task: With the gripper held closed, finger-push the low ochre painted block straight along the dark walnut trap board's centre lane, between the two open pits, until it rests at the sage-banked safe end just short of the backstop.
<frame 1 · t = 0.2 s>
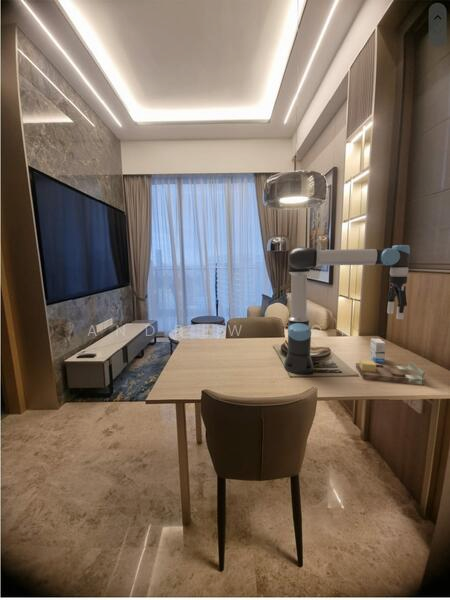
hand: (394, 316, 130), 28 cm above the table, fingers open, 13 cm apart
ochre block: (367, 368, 125), point 2 cm above the table, touching trap board
trap board: (386, 375, 123), on the table
ink box: (376, 360, 142), on the table
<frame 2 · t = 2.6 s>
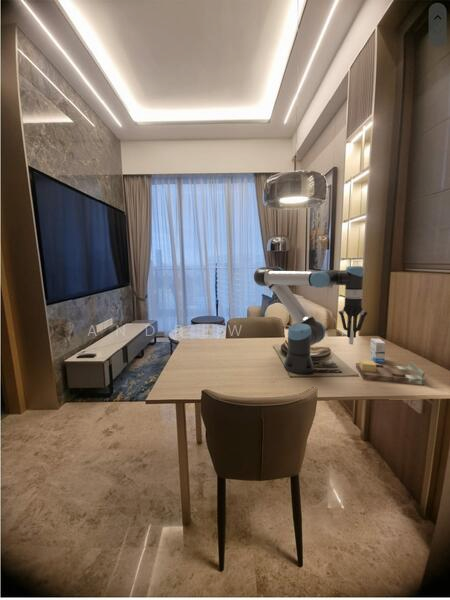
hand: (350, 343, 125), 15 cm above the table, fingers closed
nothing on the table moved.
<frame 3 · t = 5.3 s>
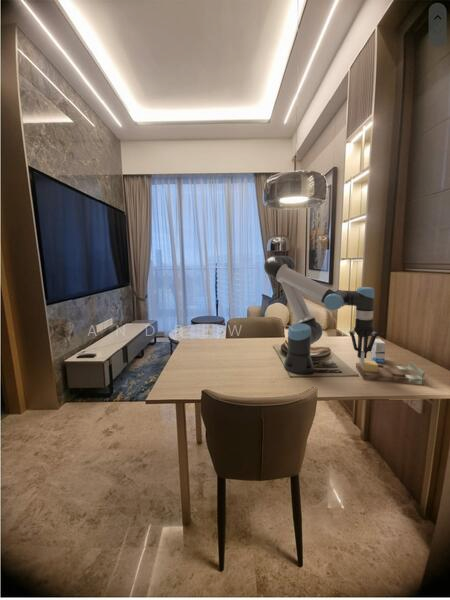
hand: (361, 363, 125), 5 cm above the table, fingers closed
nothing on the table moved.
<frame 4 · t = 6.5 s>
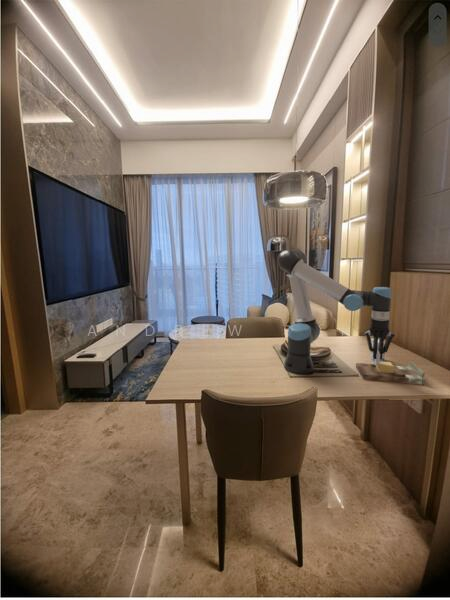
hand: (376, 364, 123), 5 cm above the table, fingers closed
ochre block: (384, 370, 123), point 3 cm above the table
everything else where it was.
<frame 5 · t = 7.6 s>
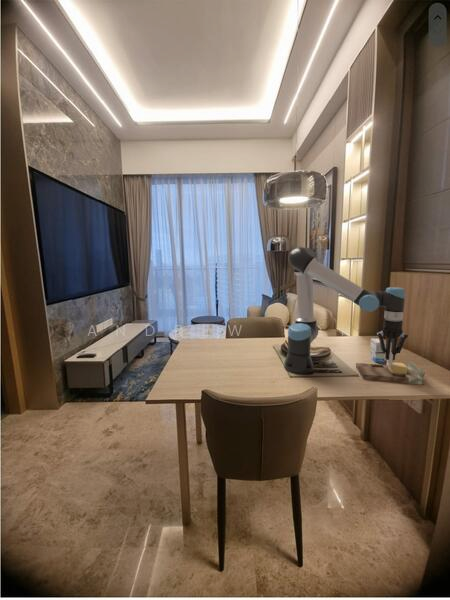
hand: (389, 365, 122), 5 cm above the table, fingers closed
ochre block: (397, 371, 121), point 2 cm above the table, touching gripper, trap board
everything else where it was.
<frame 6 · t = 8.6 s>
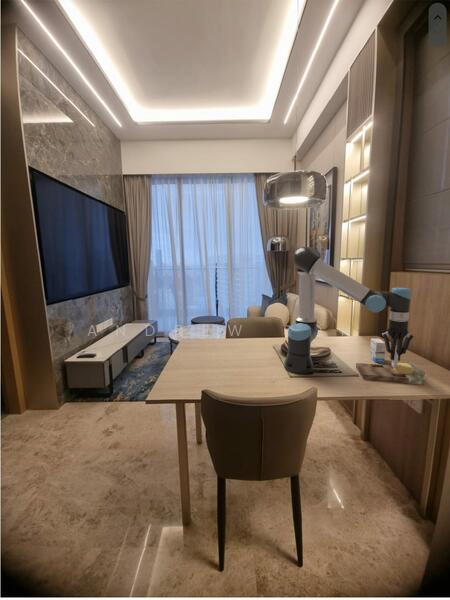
hand: (394, 366, 121), 5 cm above the table, fingers closed
ochre block: (402, 371, 121), point 2 cm above the table, touching gripper, trap board
everything else where it was.
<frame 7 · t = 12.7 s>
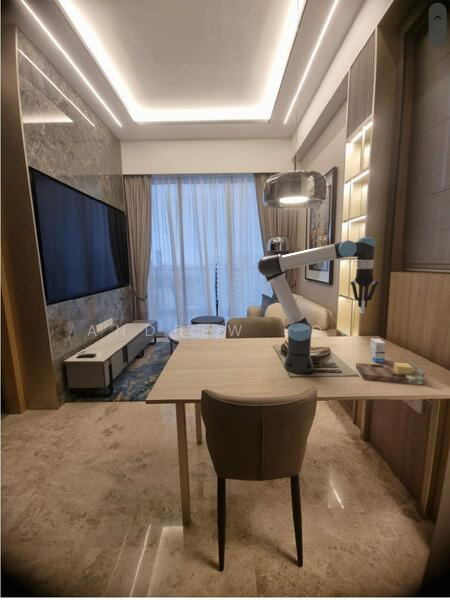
hand: (361, 313, 131), 29 cm above the table, fingers closed
ochre block: (402, 371, 121), point 2 cm above the table, touching trap board
everything else where it was.
at the end: ochre block 1.9 cm from the target spot, point 2.5 cm above the table; ochre block tilted 0° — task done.
